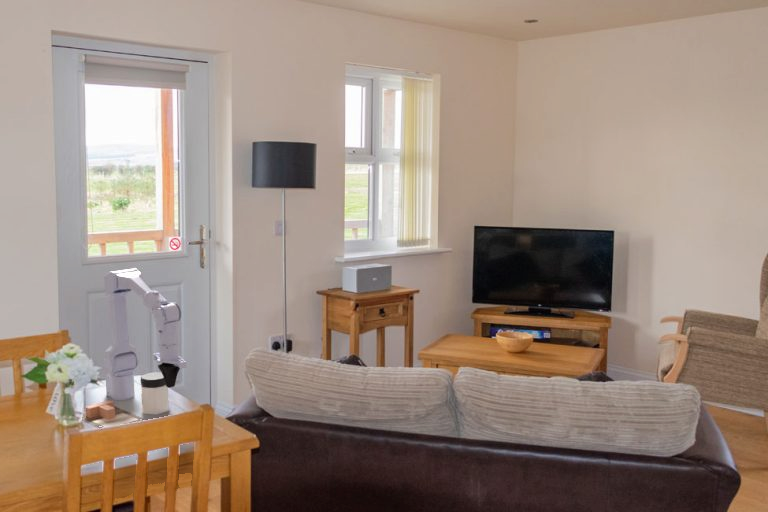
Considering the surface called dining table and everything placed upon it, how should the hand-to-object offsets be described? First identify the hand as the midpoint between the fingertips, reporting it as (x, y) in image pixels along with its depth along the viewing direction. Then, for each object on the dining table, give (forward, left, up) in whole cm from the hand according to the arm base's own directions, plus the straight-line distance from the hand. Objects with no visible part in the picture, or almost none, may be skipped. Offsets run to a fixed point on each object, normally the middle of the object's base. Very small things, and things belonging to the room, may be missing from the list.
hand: (170, 386), depth 243 cm
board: (-14, -14, -10) cm, 22 cm away
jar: (-9, 0, -11) cm, 14 cm away
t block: (-16, -13, -9) cm, 23 cm away
